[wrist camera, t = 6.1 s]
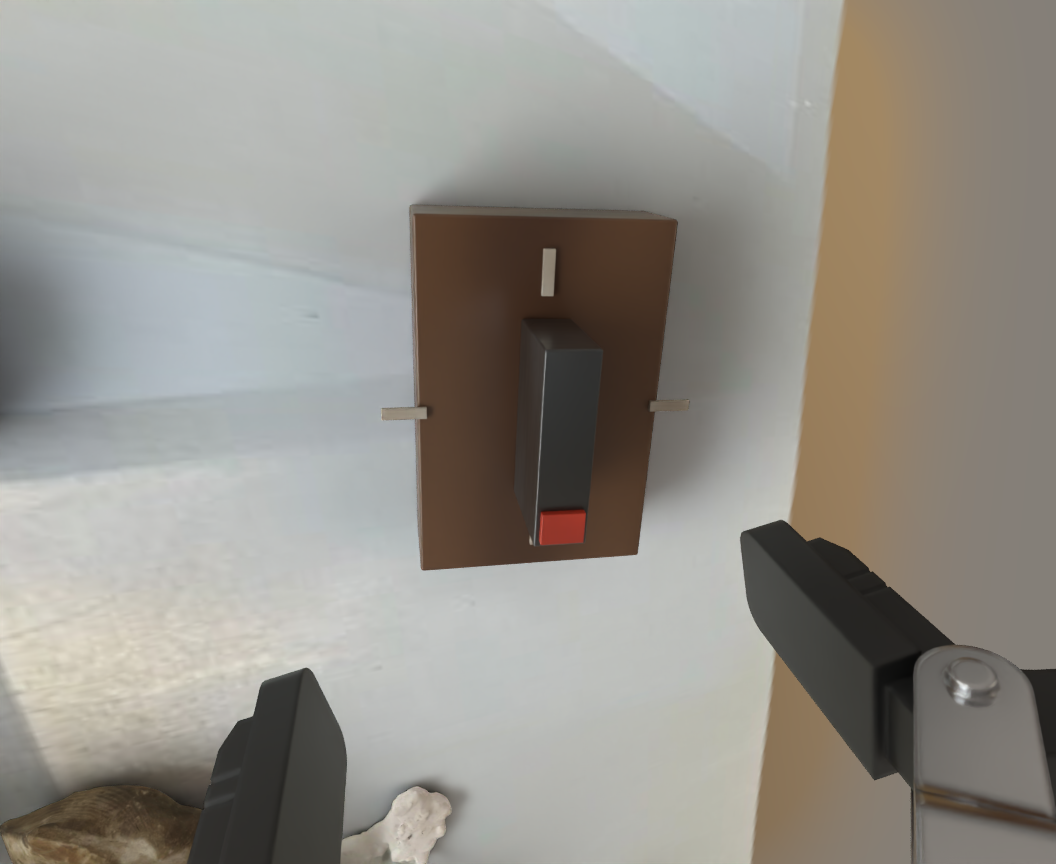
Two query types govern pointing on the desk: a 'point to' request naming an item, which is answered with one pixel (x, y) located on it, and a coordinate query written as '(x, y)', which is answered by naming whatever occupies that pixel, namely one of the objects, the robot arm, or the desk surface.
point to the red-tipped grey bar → (556, 429)
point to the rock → (401, 831)
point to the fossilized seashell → (104, 829)
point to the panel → (494, 358)
